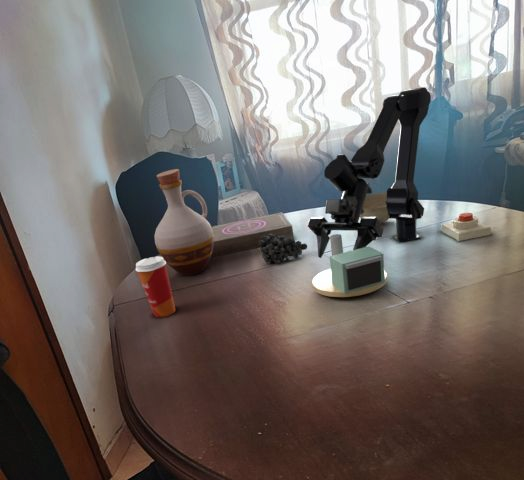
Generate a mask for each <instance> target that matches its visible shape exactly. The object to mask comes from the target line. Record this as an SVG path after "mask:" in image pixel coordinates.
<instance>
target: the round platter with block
mask: <svg viewBox="0 0 524 480" xmlns="http://www.w3.org/2000/svg"><path fill="white" fill-rule="evenodd" d="M329 237H330V239H329V242H330V250H331V255H330V256H329V264H330V268H328V269H325V270H323V271H320V272H319V273H318V274H316V275H315V276H314V277H313V279H312V280H311V284H312V289H313V290H314V291H315V293H317V294H319V295H322V296H325V297H331V298H350V297H358V296H363V295H366V294H370V293H373V292H375V291H377V290H379V289H381V288H383V287H384V286H385V285H386V283H387V282H388V273H387V271H386V269H385V264H384V263H385V261H384V260H385V259H384V256H385V255H384V253H383V252H382V251H379V250H377V249H375V248H374V247H371V246H370V245H367V246H366V247H364V248H360V249H356V250H353V249H352V250H349V251H345V252H344V247H343V240H342V239H343V238H342V237H343V236H342V234H339V233H336V234H332V235H330V236H329Z"/></svg>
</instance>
